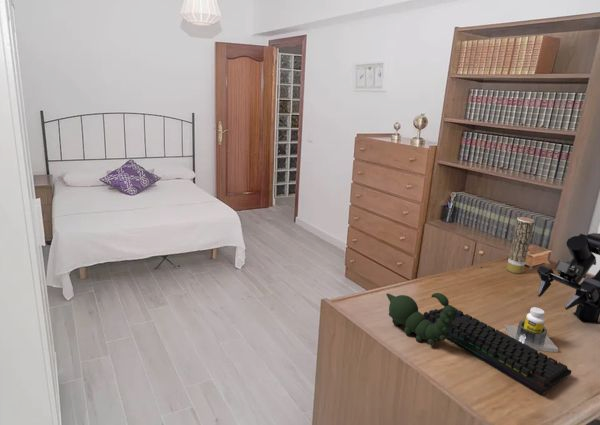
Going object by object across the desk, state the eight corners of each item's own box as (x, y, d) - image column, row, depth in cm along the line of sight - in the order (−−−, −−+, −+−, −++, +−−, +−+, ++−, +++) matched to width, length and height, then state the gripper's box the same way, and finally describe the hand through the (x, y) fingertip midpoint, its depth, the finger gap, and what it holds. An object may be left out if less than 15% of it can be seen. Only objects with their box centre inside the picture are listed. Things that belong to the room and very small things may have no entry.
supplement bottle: (522, 338, 140) (528, 311, 137) (521, 330, 145) (527, 304, 142) (540, 343, 138) (547, 316, 135) (539, 334, 142) (546, 308, 140)
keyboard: (569, 379, 124) (574, 364, 122) (541, 399, 114) (545, 384, 113) (447, 312, 156) (449, 300, 155) (417, 324, 147) (419, 312, 146)
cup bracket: (540, 331, 147) (543, 319, 145) (557, 352, 135) (561, 339, 134) (504, 328, 147) (507, 316, 146) (518, 348, 136) (521, 335, 135)
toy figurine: (451, 350, 136) (390, 310, 154) (466, 299, 129) (401, 263, 147) (433, 360, 130) (373, 317, 148) (448, 307, 124) (383, 269, 141)
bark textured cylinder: (524, 275, 192) (536, 222, 185) (508, 273, 193) (519, 220, 186) (520, 269, 198) (531, 217, 191) (504, 267, 200) (515, 216, 192)
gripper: (545, 243, 147) (518, 278, 145) (603, 264, 131) (574, 303, 129) (554, 261, 153) (528, 294, 151) (610, 282, 137) (582, 320, 135)
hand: (551, 302), depth 141 cm, fingers open, 9 cm apart
